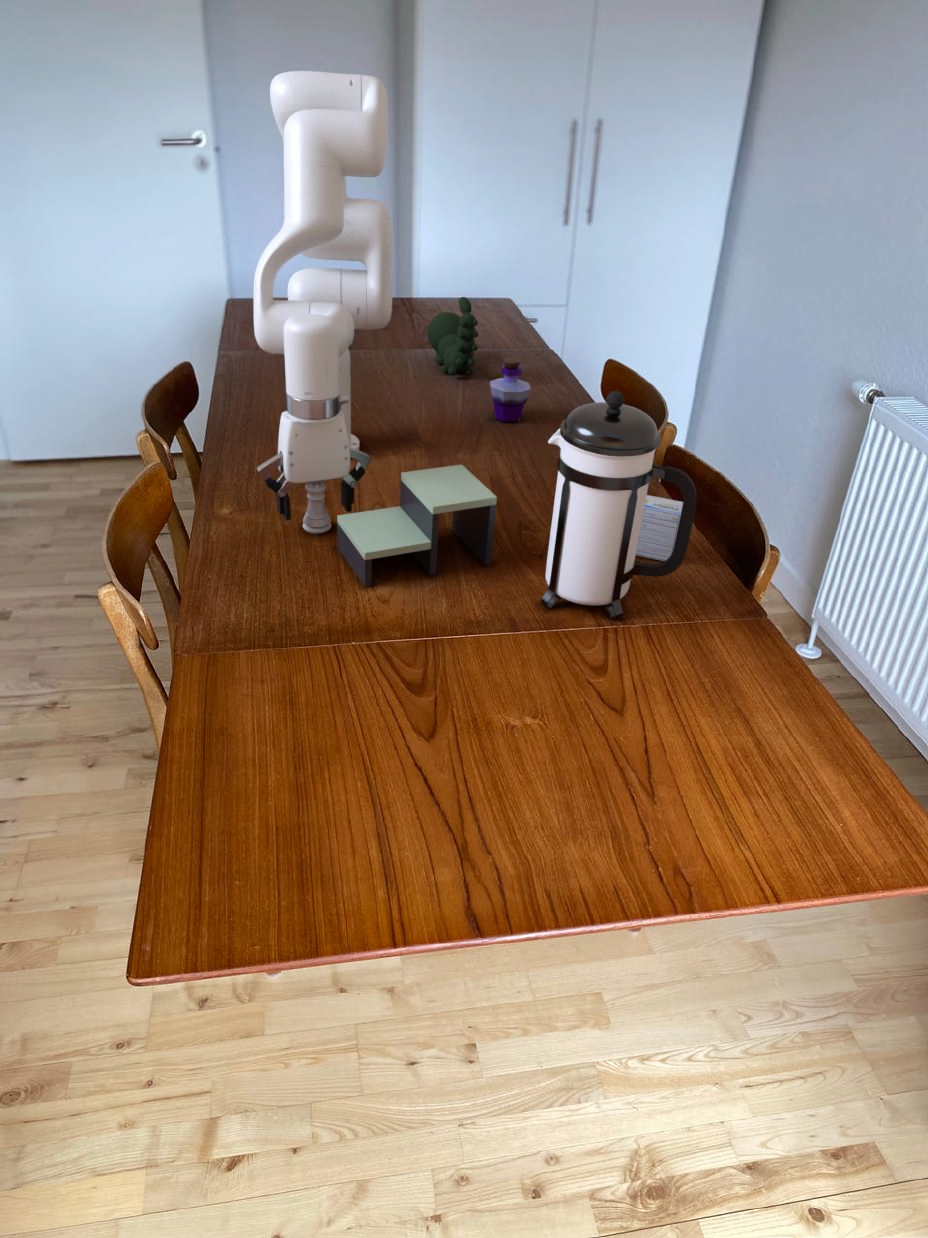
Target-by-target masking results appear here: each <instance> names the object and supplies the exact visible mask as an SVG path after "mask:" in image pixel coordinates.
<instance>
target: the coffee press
mask: <svg viewBox="0 0 928 1238" xmlns="http://www.w3.org/2000/svg"><path fill="white" fill-rule="evenodd" d="M624 403H625V397H624V394H623V393H622V392H620V391H619V390H613V391H611V392H610V393H608V395H607V396H606V398H605V401H602V402H599V401H598V402H590V403H586V404H583V405H580V406H578V407H576V408H574V409H573V410H572V411H570V412H569V414H568V415H567V417H566V418H565V419H564V420H563V421H562V422H561V423H560V427H559V428H558V429H557V430H556V431H555V433H553V434H552V435H551V437H550V438H549V439H548V441H547V443H548V444H549V445H555V446H558V447H559V451H558V454H557V462H556V468H557V477H556V485H555V493H554V500H553V501H554V502H553V509H552V517H551V526H550V533H549V541H548V549H547V555H546V556H547V557H546V565H545V582H546V584H547V585H548V587H547V590H546V591H545V593H544V595H543V596H542V597H541V599H540V603H541V604H542V605H543V606H544V607H545V608H546V609H548V610H549V609H552V608H554V607H555V606H556V604H557V603H558V602H559V601H561V600H562V599H564V600H565V601H568V602H572V603H574V604H578V605H584V606H603V607H604V608H605V610H606V613H607V614H608V617H609V619H611V620H612V621H613V620H618V619H621V618H622V617H623V616H624V611H623V607H622V604H621V599H622V598H623V597H625V596H626V594H627V593H628V591H629V589H630V585H631V581H632V578H633V577H634V576H642V577H651V578H652V577H653V578H656V577H657V578H658V577H666V576H669V575H670V574H672V573H674V572H676V571H677V570H678V569H679V567H680V566H681V565H682V563H683V562H684V559H685V557H686V554H687V551H688V546H689V542H690V537H691V534H692V528H693V524H694V520H695V514H696V510H697V509H696V508H697V490H696V486H695V483H694V481H693V479H692V478H691V477H690V476H689V474H688V473H686V472H685V471H683V470H681V469H679V468H677V467H674V466H671V465H670V466H669V465H667V466H663V465H655V461H654V458H655V452H656V450H657V449H658V447H659V446H660V443H661V434H660V432H659V430H658V427H657V425H656V422H655V421H654V419H653V418H652V416H650V415H648V414H647V413H646V412H644V411H643V410H641V409H639V408H636V407H634V406H630V405H627V404H624ZM652 479H660V480H664V481H665V482H669V483H672V484H674V485H675V486H677V487H678V488H679V490H680V492H681V494H682V499H683V500H682V502H683V506H682V511H681V516H680V521H679V525H678V530H677V535H676V540H675V544H674V549H673V552H672V554H671V556H670V557H669V558H668V559H667V560H666V561H661V562H657V563H653V562H644V561H641V560H638V559H637V558H636V550H637V544H638V539H639V533H640V528H641V523H642V517H643V512H644V507H645V501H646V496H647V495H648V491H649V483H651V481H652Z"/></svg>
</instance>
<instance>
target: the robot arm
mask: <svg viewBox="0 0 928 1238" xmlns="http://www.w3.org/2000/svg"><path fill="white" fill-rule="evenodd" d="M269 85H270V86H269V99H270V106H271V111H272V113H273V117H274V120H275V123H276V126H277V128H278V131H279V134H280V136H281V138H282V141H283V197H284V198H283V215H284V216H283V217H284V218H283V225H282V227H281V229H280V230H279V231H278V232H277V233H276V235H275V236H274V237H273V238H272V239H271V240H270V241H269V243H268V244H267V246H266V247H265V248H264V250H263V252H262V254H261V256H260V257H259V260H258V262H257V265H256V269H255V272H254V278H253V292H252V293H253V330H254V332H253V333H254V337H255V341H256V343H257V345H258V347H259V348H260V349H261V350H262V351H264V352H266V353H268V354H273V355H284V373H285V392H286V393H285V396H286V410H285V411H283V412H281V415H280V422H279V427H278V439H277V440H278V442H277V453H276V455H274V456H272V457H270V458H269V459H267V460H266V461H264V462H262V463H261V464H260V465H258V466H257V467H256V471H257V473H258V474H259V476H260V478H261V479H262V480H263V482H264V483H265V485H266V486H267V487H268V488H269V489H270V490H271V491H272V492H274V493H275V494H276V508H277V512H278V514H279V515H281V516H282V518H283V519H284V520H285V521H286V522H287V521H290V520H291V519H292V514H291V513H292V512H291V510H292V509H291V496H290V495H289V494H288V492H289V491H290V490H291V488H292V487H293V486H294V485H295V484H307V482H315V481H323V480H324V481H329V480H330V481H331V480H335V479H336V480H337V479H342V480H341V482H340V505H341V506H342V508H343V509H344V510H345V511H346V512H347V513H351V512H352V511H353V509H352V508H353V507H352V506H353V505H354V504H355V488H356V487H357V486H358V482H359V481H360V480H361V479H362V478H363V476H364V475H365V474H366V469H367V468H368V466H369V465H370V462H371V460H372V457H371V456H370V455H369V454H368V453H366V452H364V451H361V450H360V443H361V442H360V439H359V438H358V437H357V436H356V435H355V434H353V433H352V400H351V399H352V392H351V391H352V389H351V385H352V383H351V380H352V379H351V377H352V375H351V374H352V373H351V372H352V371H351V364H352V363H351V352H350V349H349V347H350V346H351V345H352V344H353V341H354V337H355V330H381V329H384V328H385V327H387V326H388V325H389V323H390V321H391V318H392V313H393V268H394V267H393V263H394V262H393V251H394V249H393V247H394V243H393V241H394V239H393V223H392V218H391V213H390V210H389V209H388V206H386V205H385V204H384V203H383V202H382V201H379V200H376V199H370V198H354V197H353V198H352V197H349V196H348V194H347V177H351V178H352V177H355V178H377V177H378V176H380V175H381V174H382V173H383V171H384V168H385V167H386V161H387V155H388V143H389V124H388V123H389V110H388V109H389V103H388V102H389V101H388V95H387V90H386V87H385V85H384V83H383V82H382V81H381V80H380V79H379V78H377V77H376V76H372V75H368V74H356V73H355V74H354V73H339V72H328V71H317V70H316V71H315V70H291V71H284V72H281V73H278V74H277V75H275V76H274V77H273V78H272V80H271V81H270V84H269ZM299 254H301V255H302V256H304V257H306V258H309V259H316V260H324V261H325V260H326V261H342V262H343V261H344V262H345V261H346V262H360V263H362V264H363V265H364V266H365V268H366V269H347V268H346V269H345V268H343V269H342V268H331V267H327V268H326V267H310V268H309V267H308V268H303V269H299V270H298V271H296V272H294V273H293V274H292V275H291V277H290V278H289V280H288V284H287V289H286V290H287V299H286V300H285V299H274V286H275V281H276V278H277V275H278V274H279V272H280V270H281V269H282V267H283V266H284V265H286V263H287V262H289V261H290V260H292V259H293V258H294V257H296V256H298V255H299ZM351 458H352V459H354V460H357V464H356V465H355V466H354V467H353V468H352V469H351ZM276 469H278V471H279V472H280V473H281V474H280V475H279V477H278V478H277V480H276V479H274V478H273V477H272V476H271V473H272V472H273V471H274V470H276Z"/></svg>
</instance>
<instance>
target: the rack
mask: <svg viewBox="0 0 928 1238" xmlns="http://www.w3.org/2000/svg"><path fill="white" fill-rule="evenodd" d="M497 502H498V497H497V495H496V494H494V493H493V492H492V491H491V490H490V488H488V487H486V486H485V484H483V482H481V481H480V479H478V477H476V476H475V475H474V474H473V473H472V472H471V471H469V469H467V468H466V467H465V466H464V465H463V464H456V465H448V466H439V467H433V468H432V467H431V468H425V469H424V468H423V469H418V470H411V471H410V470H409V471H403V472H400V502H399V503H400V504H399V505H398V506H393V507H386V508H385V507H384V508H379V509H371V510H366V511H358V512H352V513H351V512H350V513H345V514H344V513H343V514H339V515H336V517H337V518H336V522H337V523H336V526H337V527H336V528H337V532H336V533H337V549H338V550H339V552H340V554H341V555H342V556H343V557H344V559H345V561H346V562H347V564H348V565H349V566H350V568H351V569H352V571H353V572H354V573H355V575H356V577H357V578H358V579H359V581H360V583H361V584H362V586H364V588H366V587H371V586H372V560H375V559H380V558H385V557H393V556H398V555H404V554H410V553H411V554H412V555H413V556H414V557H415V559H416V560H417V561H418V562H419V563H420V565H421V566H422V567H423V568H424V569H425V571H426V572H427V573H428V574H429V576H430V575H431V576H432V575H436V574H437V564H438V563H437V560H438V543H439V542H438V541H439V540H438V539H439V521H440V520H439V519H440V514H446V513H451V512H452V526H451V527H452V531H453V532H454V533H455V534H456V535H457V536H458V537H459V538H460V539H461V540H462V541H463V543H465V545H466V546H467V547H468V548H469V549H470V550H471V551H472V553H474V554H475V555H476V556H477V558H478V559H479V560H480V561H481V562H482V563H483V564H484V565H486V566H488V565H491V564H492V560H493V558H492V557H493V548H494V536H495V535H494V534H495V525H496V514H497Z"/></svg>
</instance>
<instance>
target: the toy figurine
mask: <svg viewBox="0 0 928 1238" xmlns="http://www.w3.org/2000/svg"><path fill="white" fill-rule="evenodd" d="M458 307H459V310H460V312H461V313H462V314H461V316H460V315H458V314H457V313H455V312H451V311H444V312H439V313H438V314H437V315H435V316H434V317H433V318H432V319H431V320H430V321H429V323H428V326H427V328H426V336H427V337H426V338H427V340H428V343H429V345H430V347H431V348H432V349H433V350H434V351H435V354H436V357H435V363H436V364H437V366H440V367H441V369H440V370H441V372H442V373H443V374H444V375H445V374H448V375H450V376H456V375H457V374H458V373H462V372H463V373H464V374H465V375H467V376H472V375H473V374H474V371H475V368H474V366H475V365H476V360H475V358H474V357H475V352H477V350H478V348H479V346H478V345H477V344H476V340H475V339H476V338H478V336H479V331H478V330H476V327H477V326H478V324H479V321H478V320H477V319H476V317H475V315H474V314H472V313H471V312H472V303H471V301H470V300H469V298H467V297H466V296H461V297H460V298H459V299H458Z"/></svg>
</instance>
